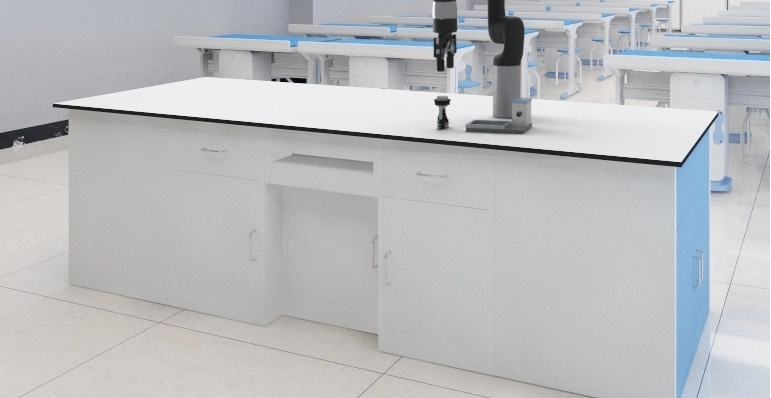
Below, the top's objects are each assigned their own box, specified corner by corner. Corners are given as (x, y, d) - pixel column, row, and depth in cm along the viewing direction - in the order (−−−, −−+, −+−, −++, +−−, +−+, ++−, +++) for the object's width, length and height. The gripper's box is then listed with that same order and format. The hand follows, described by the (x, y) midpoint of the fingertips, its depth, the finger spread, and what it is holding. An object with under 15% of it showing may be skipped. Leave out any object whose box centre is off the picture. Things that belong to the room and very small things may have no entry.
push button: (445, 130, 291) (445, 98, 289) (429, 129, 293) (429, 98, 291) (453, 127, 297) (453, 95, 295) (437, 126, 299) (437, 95, 297)
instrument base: (477, 124, 300) (477, 96, 298) (532, 126, 294) (532, 97, 292) (465, 131, 289) (465, 101, 286) (522, 134, 282) (523, 103, 280)
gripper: (441, 15, 292) (442, 66, 296) (425, 18, 280) (425, 72, 284) (464, 15, 289) (464, 67, 293) (448, 18, 277) (449, 72, 281)
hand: (445, 69), depth 289 cm, fingers open, 8 cm apart
